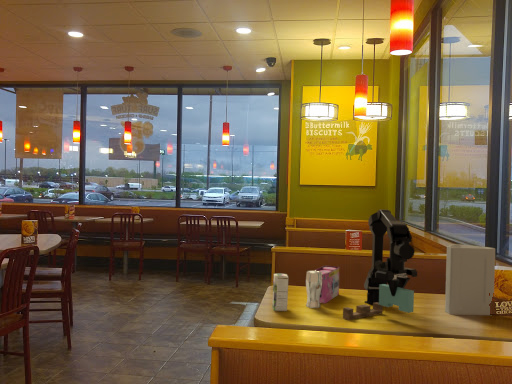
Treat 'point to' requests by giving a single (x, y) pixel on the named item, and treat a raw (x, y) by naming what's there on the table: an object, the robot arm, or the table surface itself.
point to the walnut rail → (362, 311)
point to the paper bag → (469, 279)
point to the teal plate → (396, 298)
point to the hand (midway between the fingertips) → (395, 295)
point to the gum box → (329, 283)
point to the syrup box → (280, 292)
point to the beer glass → (313, 288)
